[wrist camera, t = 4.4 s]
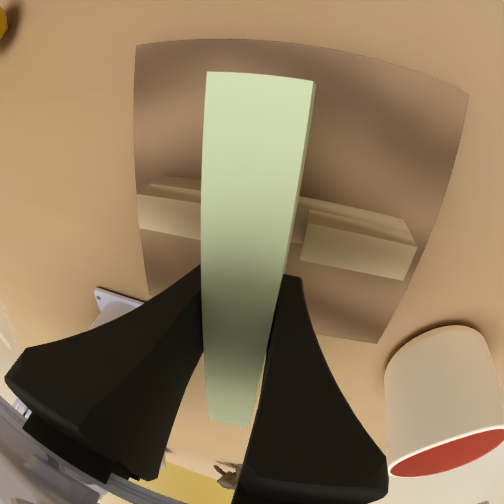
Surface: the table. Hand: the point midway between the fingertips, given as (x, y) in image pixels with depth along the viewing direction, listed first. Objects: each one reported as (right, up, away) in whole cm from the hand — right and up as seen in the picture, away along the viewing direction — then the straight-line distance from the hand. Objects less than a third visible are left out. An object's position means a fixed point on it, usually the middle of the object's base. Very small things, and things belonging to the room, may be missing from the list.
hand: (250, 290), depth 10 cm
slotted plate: (+1, +2, +4) cm, 5 cm away
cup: (+16, -8, +11) cm, 21 cm away
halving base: (+2, +4, +7) cm, 8 cm away
